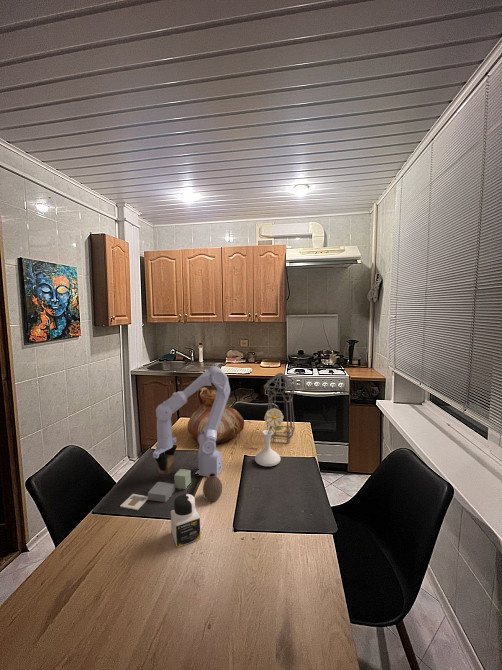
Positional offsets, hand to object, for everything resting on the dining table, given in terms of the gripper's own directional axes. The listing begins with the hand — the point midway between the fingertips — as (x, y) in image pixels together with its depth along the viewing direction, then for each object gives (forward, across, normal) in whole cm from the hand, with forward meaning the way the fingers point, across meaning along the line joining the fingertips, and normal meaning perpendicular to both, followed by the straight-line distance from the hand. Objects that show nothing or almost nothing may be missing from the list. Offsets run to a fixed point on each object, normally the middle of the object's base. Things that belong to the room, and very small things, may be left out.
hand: (166, 466), depth 121 cm
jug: (+5, -42, +5) cm, 43 cm away
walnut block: (+2, 0, 0) cm, 2 cm away
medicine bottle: (+5, +26, +22) cm, 34 cm away
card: (+5, +16, -3) cm, 17 cm away
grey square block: (+5, +10, +4) cm, 12 cm away
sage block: (+5, +3, +9) cm, 11 cm away
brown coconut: (+5, +7, +23) cm, 25 cm away
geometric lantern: (+6, -47, +39) cm, 61 cm away
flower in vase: (+5, -22, +38) cm, 44 cm away
